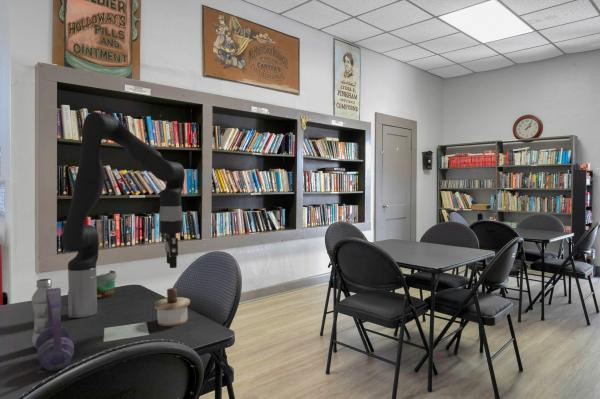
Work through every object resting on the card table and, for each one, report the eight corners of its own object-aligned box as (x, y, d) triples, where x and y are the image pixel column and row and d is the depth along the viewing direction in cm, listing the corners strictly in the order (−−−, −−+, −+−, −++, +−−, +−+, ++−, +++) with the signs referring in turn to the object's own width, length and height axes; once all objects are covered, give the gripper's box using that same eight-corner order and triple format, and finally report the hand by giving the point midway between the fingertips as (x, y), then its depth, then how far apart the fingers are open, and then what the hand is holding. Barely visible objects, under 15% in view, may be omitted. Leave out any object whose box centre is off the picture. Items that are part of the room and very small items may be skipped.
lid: (155, 312, 132) (155, 295, 132) (152, 302, 143) (152, 287, 142) (192, 307, 137) (192, 291, 137) (187, 298, 148) (186, 283, 148)
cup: (159, 328, 133) (158, 310, 133) (156, 319, 142) (156, 303, 142) (189, 324, 137) (189, 306, 137) (184, 315, 146) (184, 299, 146)
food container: (104, 300, 168) (104, 276, 168) (91, 299, 169) (91, 276, 169) (123, 292, 180) (122, 270, 180) (111, 292, 181) (110, 270, 181)
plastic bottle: (40, 343, 122) (38, 277, 121) (63, 342, 122) (61, 277, 122) (27, 351, 115) (25, 282, 115) (52, 350, 116) (50, 282, 115)
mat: (103, 343, 121) (103, 341, 121) (104, 329, 133) (104, 328, 133) (149, 335, 127) (149, 334, 127) (146, 323, 139) (146, 322, 138)
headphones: (35, 355, 113) (33, 285, 112) (68, 348, 118) (66, 280, 117) (39, 380, 98) (36, 299, 97) (77, 370, 103) (75, 293, 102)
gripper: (157, 218, 144) (158, 262, 144) (161, 221, 131) (162, 270, 131) (179, 217, 147) (179, 261, 147) (185, 220, 134) (185, 268, 134)
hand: (171, 265), depth 139 cm, fingers open, 8 cm apart
